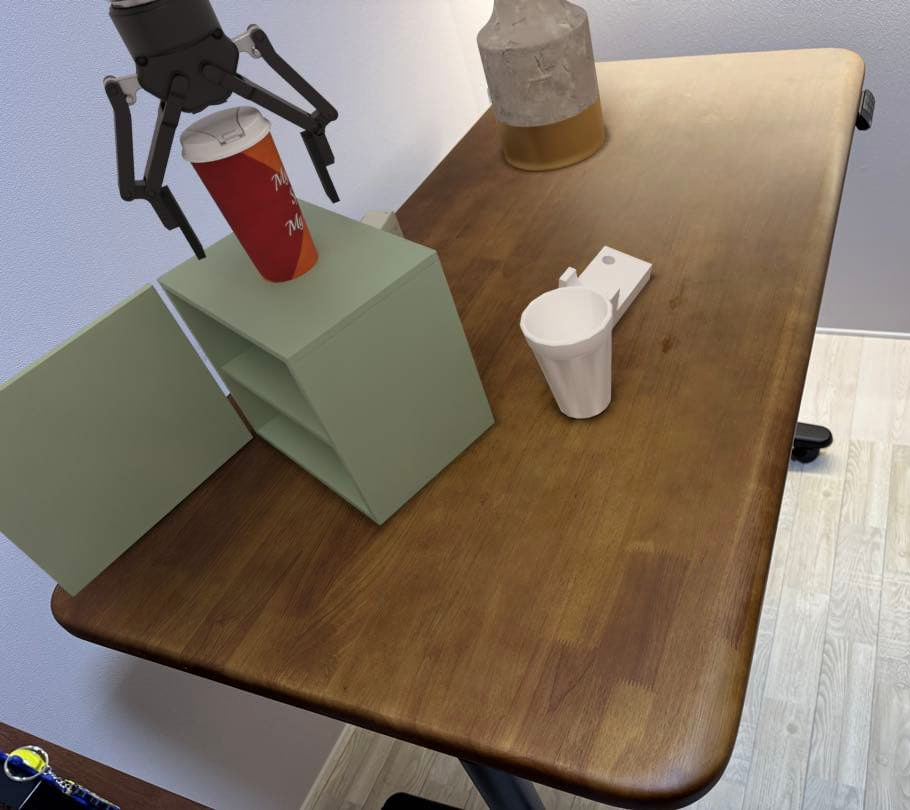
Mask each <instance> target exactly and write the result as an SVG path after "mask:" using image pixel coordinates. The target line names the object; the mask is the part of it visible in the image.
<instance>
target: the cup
mask: <svg viewBox="0 0 910 810" xmlns="http://www.w3.org/2000/svg"><path fill="white" fill-rule="evenodd" d="M612 324H613V307H612V303H611V302H610V300H609V299H608V297H607V296H606V295H605V294H603V293H601V292H599V291H597V290H595V289H593V288H588V287H581V286H572V287H562V288H559V287H558V288H555V289H552V290H549V291H547V292H544V293H542V294H541V295H539V296H538V297H536V298H534V299H533V300H532V301H531V302H529V304H528V305H527V307H526V308H525V309H524V310H523V311H522V313H521V316H520V321H519V327H520V329H521V331H522V334H523V336H524V339H525V341H526V343H527V345H528V347H529V348H530V349H531V350H532V353H533V355H534V357H535V359H536V362H537V364H538V365H539V367H540V370H541V372H542V374H543V376H544V378H545V381H546V383H547V385H548V386H549V388H550V391H551V393H552V395H553V397H554V400H555V402H556V403H557V406H558V408H559V410H560V412H561V413H563V414H564V415H566V416H567V417H568V418H574V419H589V418H592V417H595V416H597V415H599V414H601V413H602V412H603V411H605V410H606V409H607V408H608V406H609V405H610V403H611V400H612V334H613V333H612V331H613V329H612Z"/></svg>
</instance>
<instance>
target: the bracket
mask: <svg viewBox="0 0 910 810" xmlns="http://www.w3.org/2000/svg"><path fill="white" fill-rule="evenodd" d="M652 268H653V263H651V262H648V261H645V260H642V259H640V258H638V257H636V256H635V257H634V256H633V255H630V254H627V253H625V252H623V251H619V250H617V249H615V248H612V247H610V246H607V245H604V246H603V247H602V248H601V250H600V251H599V252H598V254H596V256H595V257H594V258H593V259H592V261H591V262H590V263H589V264H588V265H587V266H586V267H585V269H584V270H583V271H582V272H581V274H580V275H579V276H578V274H577V269H576V268H573V267H572V266H568V268H567V269H566V270H565V271H564V272H563V273H562V275H561V276H560V277H559V278H558V288H562V287H572V286H581V287H588V288H593V289H595V290H597V291H599V292H601V293H603V294H605V295H606V296H607V297H608V299H609V300H610V302H611V303H612V307H613V324H612V330H613V329H614V327H616V325H617V323H618V322H619V321H620V319H621V318H622V317H623V316H624V314H625V313H626V312H627V310H628V309H629V307H630V306H631V305H632V303H633V302H634V301H635V299H636V298H637V296H638V295H639V294H640V293H641V291H642V290H643V289H644V287H645V286H646V285H647V283H648V282H649V281H650V279H651V274H652Z"/></svg>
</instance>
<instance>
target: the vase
mask: <svg viewBox="0 0 910 810" xmlns="http://www.w3.org/2000/svg"><path fill="white" fill-rule="evenodd" d="M590 29H591V28H590V21H589V15H588V12H587V10H586V9H585V8H584V7H582V6H581V5H578V4H575V3H572V2H570V1H569V0H493V7H492V13H491V15H490V18H489V19H488V21H487V22H486V23H485V24H484V25H483V27H481V29H480V30H479V31H478V33H477V35H476V45H477V48H478V53H479V58H480V62H481V65H482V69H483V74H484V77H485V81H486V85H487V89H488V94H489V97H490V101H491V106H492V110H493V113H494V118H495V122H496V126H497V130H498V134H499V138H500V142H501V146H502V151H503V154H504V158H505V161H506V162H507V164H509V166H511V167H513V168H515V169H518V170H523V171H527V172H547V171H554V170H559V169H562V168H563V169H564V168H568V167H570V166H574V165H576V164H579V163H581V162H583V161H585V160H587V159H589V158H591V157H592V156H593V155H594V154H596V153H597V152H598V151H599V150H600V149H601V148H602V147H603V146H604V144H605V142H606V139H607V138H606V130H605V124H604V117H603V116H604V115H603V110H602V102H601V97H600V89H599V82H598V77H597V68H596V62H595V54H594V49H593V41H592V35H591V30H590Z"/></svg>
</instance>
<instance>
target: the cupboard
mask: <svg viewBox="0 0 910 810" xmlns="http://www.w3.org/2000/svg"><path fill="white" fill-rule="evenodd" d="M296 199H297V201H298V204H299V206H300V209H301V211H302V214H303V216H304V219H305V222H306V224H307V227H308V229H309V232H310V235H311V237H312V240H313V243H314V245H315V248H316V251H317V255H318V259H317V262H316V264H315V265H314V266H313V267H312V268H311V269H310V270H309V271H308V272H306V273H305V274H303V275H301V276H299V277H297V278H295V279H292V280H289V281H285V282H279V283H273V282H268V281H266V280H265V279H264V278H263V277H262V276H261V274H260V273H259V272H258V270H257V269H256V267H255V266H254V264H253V262H252V261H251V259H250V258H249V256H248V255H247V253H246V251H245V250H244V248H243V247H242V245H241V243H240V242H239V240H238V239H237V237H236V235H235V234H234V232H233V231H232V232H230V233H229V234H227V235H226V236H224V237H222V238H221V239H219V240H217V241H216V242H214V243H212V244H210V245H209V246H207V247H206V248H205V249H204V248H203V249H204V252H205V254H206V258H203V259H201V260H198V258H197V256H196V255H195V254H194V255H193V256H192V257H190V258H188V259H186V260H185V261H183V262H182V263H180V264H178V265H176V266H175V267H173V268H172V269H170V270H168V271H167V272H165V273H163V274H162V275H160V276H159V277H157V278H156V281H157V284H159V286H160V287H161V290H163V292H164V294H165V295H166V297H167V298H168V300H169V301H170V303H171V304H172V306H173V307H174V309H175V310H176V312H177V313H178V315H179V317H180V318H181V321H183V323H184V324H185V326H186V327H187V329H188V330H189V332H190V334H191V335H192V336H193V338H194V340H195V341H196V342H197V344H198V346H199V348H200V349H201V351H202V352H203V353H204V355H205V357H206V358H207V360H208V362H209V363H210V364H211V366H212V367H213V369H214V370H215V372H216V373H217V375H218V377H219V378H220V380H221V381H222V383H223V384H224V385H225V387H226V389H227V390H228V392H229V393H230V395H231V396H232V398H233V400H234V401H235V402H236V403H235V404H237V405H238V407H239V409H240V410H241V412H242V413H243V415H244V416H245V418H246V419H247V421H248V422H249V424H250V425H251V428H252V429H253V430H254V432H255V433H256V434H257V435H258V436H259V437H261V438H262V439H264V440H265V441H266V442H267V443H269V444H270V445H272V446H273V447H274V448H275V449H277V450H278V451H280V453H282V454H283V455H285V456H286V457H287V458H288V459H290V460H292V461H293V462H294V463H295V464H297V465H298V466H299V467H301V468H302V469H304V470H305V471H306V472H308V473H309V474H310V475H312V476H313V477H314V478H316V479H317V480H318V481H319V482H321V483H322V484H324V485H325V486H326V487H327V488H329V489H330V490H332V491H333V492H334V493H336V494H337V495H339V496H340V497H341V498H343V499H344V500H345V501H346V502H348V503H349V504H351V505H352V507H354V508H356V509H357V510H358V511H360V512H361V513H363V514H364V515H365V516H367V517H368V518H369V519H371V520H372V521H373V522H374V523H376V524H377V525H379V526H382V525H383V524H384V523H385V522H386V521H387V520H388V519H389V518H390V517H392V516H393V515H394V514H395V513H396V512H397V511H398V510H400V509H401V508H402V507H403V506H404V505H405V504H406V503H407V502H408V501H409V500H411V499H412V498H413V497H414V496H415V495H416V494H417V493H418V492H420V490H422V488H424V487H425V486H426V485H428V483H429V482H431V481H432V480H433V479H434V478H435V477H437V475H439V473H441V472H442V471H444V469H445V468H446V467H447V466H449V464H451V463H452V462H453V461H454V460H455V459H456V458H457V457H458V456H460V454H461V453H463V452H464V451H465V450H466V449H467V448H468V447H469V446H470V445H472V444H473V443H474V442H475V441H476V440H477V439H478V438H479V437H481V436H482V435H483V434H484V433H485V432H487V430H488V429H489V428H491V427H492V426H493V425H494V424H495V423H496V421H495V418H494V415H493V412H492V408H491V407H490V404H489V400H488V398H487V394H486V392H485V389H484V386H483V382H482V380H481V377H480V374H479V371H478V368H477V366H476V362H475V360H474V356H473V353H472V350H471V348H470V345H469V342H468V339H467V336H466V334H465V330H464V327H463V324H462V322H461V319H460V315H459V313H458V309H457V306H456V304H455V301H454V299H453V295H452V292H451V289H450V286H449V284H448V281H447V278H446V275H445V272H444V268H443V266H442V263H441V260H440V257H439V254H438V252H437V250H436V249H433V248H431V247H427V246H425V245H422V244H420V243H417V242H414V241H412V240H409V239H407V238H405V237H404V238H401V237H399V236H396V235H394V234H391V233H388V232H386V231H383V230H380V229H378V228H375V227H372V226H370V225H367V224H364V223H362V222H360V220H356V219H354V218H351V217H349V216H347V215H343V214H340V213H339V212H338V213H337V212H336V211H333V210H330V209H327V208H324V207H322V206H319V205H318V204H317V205H316V204H314V203H311V202H309V201H306V200H303V199H301V198H298V197H296Z"/></svg>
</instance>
